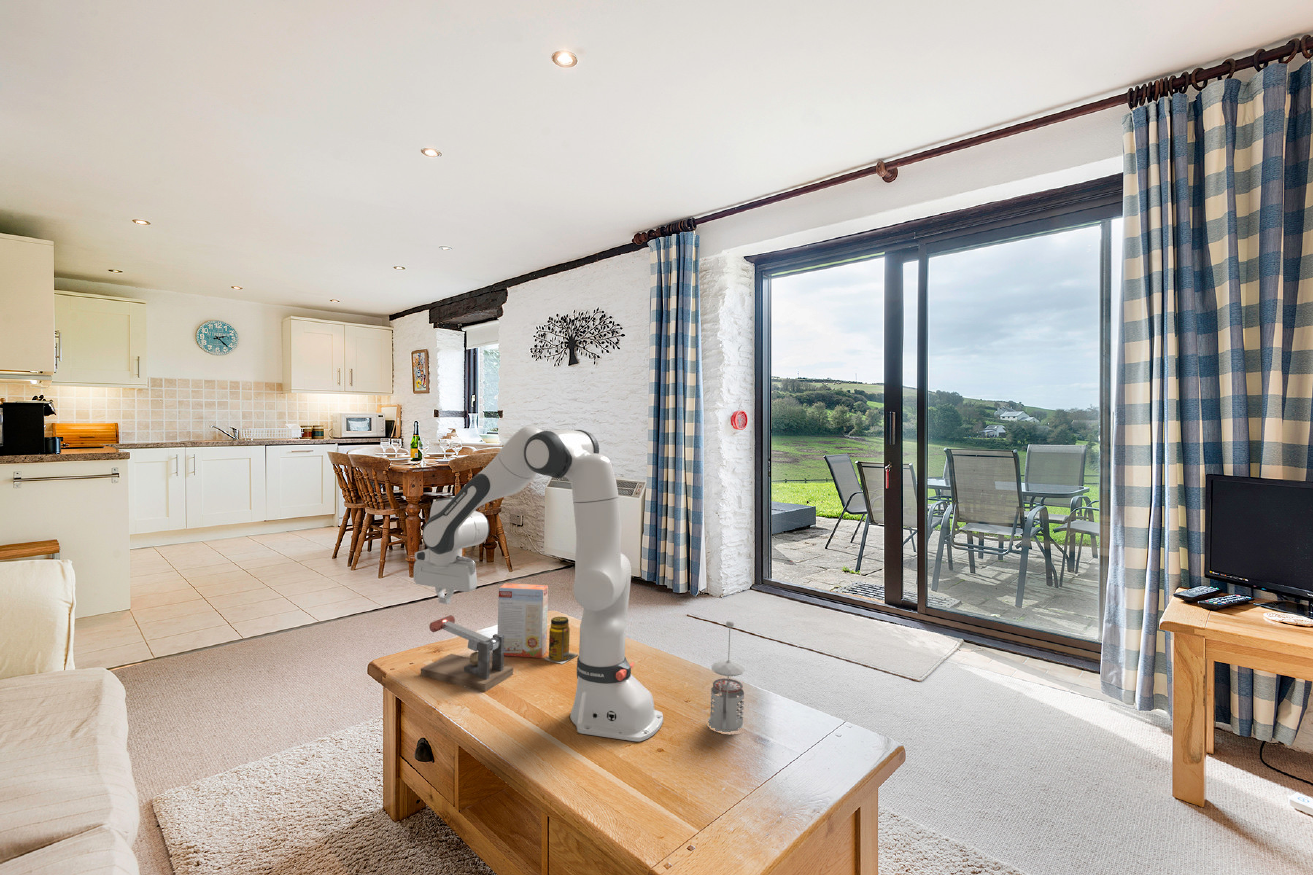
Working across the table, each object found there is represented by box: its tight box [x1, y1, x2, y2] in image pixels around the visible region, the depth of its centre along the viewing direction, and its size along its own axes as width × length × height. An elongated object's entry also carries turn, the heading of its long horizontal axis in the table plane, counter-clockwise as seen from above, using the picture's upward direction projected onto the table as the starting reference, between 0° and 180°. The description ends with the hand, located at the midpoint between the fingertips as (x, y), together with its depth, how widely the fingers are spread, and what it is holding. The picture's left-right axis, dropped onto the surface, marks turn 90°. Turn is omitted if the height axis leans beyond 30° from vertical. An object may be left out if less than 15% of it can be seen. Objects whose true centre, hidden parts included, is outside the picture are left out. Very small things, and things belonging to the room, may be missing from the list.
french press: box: [707, 620, 746, 732], centre depth 141 cm, size 10×12×25 cm
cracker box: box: [497, 582, 549, 659], centre depth 182 cm, size 14×6×21 cm, turn 84°
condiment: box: [543, 616, 579, 665], centre depth 180 cm, size 7×8×12 cm
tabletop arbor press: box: [420, 633, 514, 692], centre depth 165 cm, size 22×12×12 cm, turn 67°
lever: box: [428, 614, 501, 652], centre depth 165 cm, size 20×7×4 cm, turn 67°
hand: (444, 603), depth 168 cm, fingers closed
